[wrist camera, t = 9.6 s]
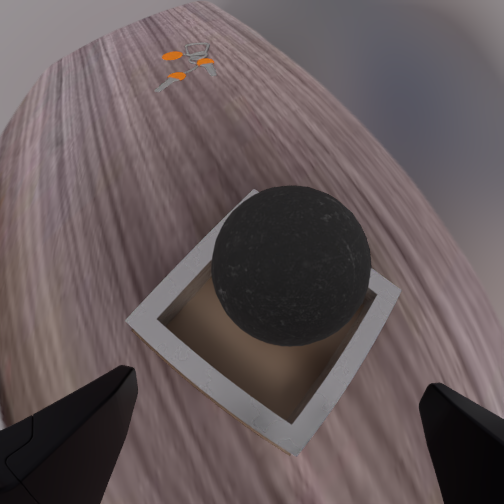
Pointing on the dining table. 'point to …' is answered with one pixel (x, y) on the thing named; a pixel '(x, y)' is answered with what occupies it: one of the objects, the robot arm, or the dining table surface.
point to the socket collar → (226, 392)
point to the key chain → (196, 57)
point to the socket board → (251, 355)
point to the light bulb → (291, 266)
